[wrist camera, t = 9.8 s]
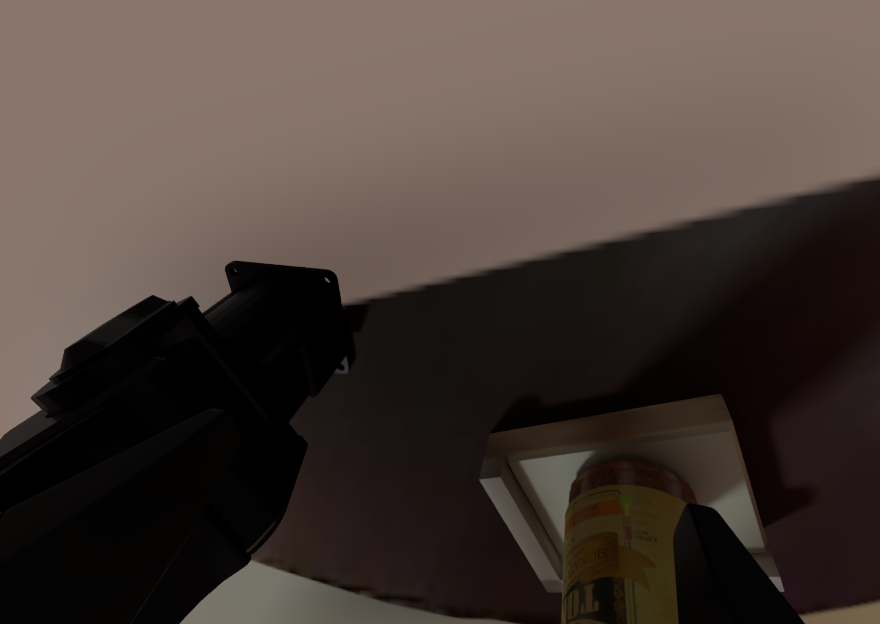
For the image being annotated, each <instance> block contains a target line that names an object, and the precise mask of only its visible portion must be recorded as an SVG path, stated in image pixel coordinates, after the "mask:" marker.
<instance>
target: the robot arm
mask: <svg viewBox="0 0 880 624" xmlns="http://www.w3.org/2000/svg"><path fill="white" fill-rule="evenodd" d="M234 269H235V270H236V271H237V272H236V271H235V270H234ZM225 272H226V275H227V278H228V281H229V285H230V288H231V293H230V294H228V295H227V296H226V297H224V298H223V299H221V300H220V301H219V302H217V303H216V304H215V305H213V306H212V307H210V308H209V309H208V310H206V311H205V312H203V313H201V311H200V310H199V308H198V307H199V305H198V303H197V302H196V301H195V300H194V298H193V297H192V296H190V297H188V298H186V299H184V300H182V301H179V302H178V303H176V302H175V301H172V302H171V301H166V300H163V299H161V298H159V297H156V296H154V295H152V296H150V297H148V298H146V299H144V300H143V301H141V302H139V303H138V304H136V305H134V306H132V307H131V308H129V309H127V310H126V311H124V312H122V313H121V314H119V315H117V316H116V317H114V318H112V319H111V320H109V321H107V322H106V323H105V324H103V325H101V326H100V327H98V328H97V329H95V330H93V331H92V332H90V333H89V334H87V335H86V336H84V337H83V338H81V339H80V340H79V341H77V342H75V343H74V344H72V345H71V346H69V347H68V348H66V349H65V350H64V355H63V359H62V363H61V368H60V370H58V371H57V372H56V373H55V374H54V375H52V376H51V377H50V378H49V380H50V382H49V383H47V384H46V385H45V386H44V387H42V388H41V389H40V390H39V391H37V393H35V394H34V395H33V396H32V397H31V399H32V400H33V401H34V402H35V403H36V404H37V405H38V406H39V407H40V408H41V409H42V410H41V411H39V412H38V413H36V414H35V415H33V416H31V417H30V418H28V419H27V420H25V421H24V422H22V423H21V424H19V425H18V426H16V427H15V428H13V429H11V430H10V431H9V432H7V433H6V434H5V435H4V436H3V437H2V438H1V439H0V624H180V622H181V621H182V620H183V619H184V618H185V617H186V616H187V615H188V614H189V613H190V612H191V611H192V610H193V608H195V607H196V606H197V604H198V603H199V602H200V601H201V600H203V598H205V597H206V596H207V595H208V594H209V593H210V592H212V591H213V590H214V589H215V588H216V587H217V586H218V585H220V584H221V583H222V582H223V581H224V580H226V579H227V578H229V577H230V576H232V575H233V574H235V573H236V572H238V571H239V570H241V569H242V568H243V567H245V566H246V565H247V564H248V563H249V562H250V560H251V555H252V554H253V553H254V552H256V551H257V550H258V549H259V548H260V547H261V546H262V545H263V544H264V543H265V542H266V541H267V540H268V538H269V537H270V536H271V535H272V533H273V532H274V531H275V530H276V528H277V527H278V525H279V523H280V522H281V520H282V518H283V516H284V514H285V512H286V509H287V506H288V503H289V500H290V497H291V494H292V491H293V488H294V485H295V482H296V479H297V476H298V473H299V470H300V467H301V465H302V462H303V459H304V456H305V453H306V450H307V447H308V443H307V442H306V441H305V440H304V438H303V437H302V436H299V435H298V434H297V433H296V431H295V430H294V429H293V428H292V426H291V425H290V424H289V423H288V422H289V421H290V420H291V418H292V417H293V416H294V415H295V413H296V412H297V411H298V409H299V408H300V407H301V405H302V404H303V403H304V401H305V400H306V399H307V397H315V396H316V395H317V394H318V393H319V392H320V391H321V389H322V388H323V387H324V385H325V384H326V383H327V381H328V380H329V379H330V377H331V376H332V374H333V373H340V374H345V373H347V372H348V371H349V369H350V368H351V358H350V352H349V351H350V350H351V345H350V339H349V333H348V327H347V320H346V314H345V312H344V310H343V309H342V303H341V296H340V290H339V285H338V279H337V276H336V275H335V273H334V272H332V271H330V270H326V269H316V268H306V267H295V266H284V265H274V264H264V263H253V262H243V261H232V262H230V263H229V264H228V265H226V267H225ZM324 277H325V278H327V279H328V280H329V281H330V283H329V282H327V281H326V280H325V278H324ZM341 364H342V365H344V366H342V365H341ZM673 552H674V566H675V580H676V594H677V608H678V621H679V624H805V623H804V622H803V621H802V619H801V618H800V617H799V615H798V614H797V613H796V612H795V610H794V609H793V608H792V606H791V605H790V604H789V603H788V601H787V600H786V599H785V597H784V596H783V595H782V594H781V592H780V591H779V590H778V588H777V587H776V586H775V585H774V583H773V582H772V581H771V579H770V578H769V577H768V576H767V574H766V573H765V572H764V570H763V569H762V568H761V567H760V565H759V564H758V563H757V561H756V560H755V559H754V558H753V556H752V555H751V554H750V552H749V551H748V550H747V549H746V547H745V546H744V545H743V543H742V542H741V541H740V540H739V538H738V537H737V536H736V534H735V533H734V532H733V531H732V529H731V528H730V527H729V525H728V524H727V523H726V522H725V520H724V519H723V518H722V516H721V515H720V514H719V513H718V512H717V511H716V510H715V509H714V508H712V507H708V506H703V505H698V504H693V503H688V504H687V505H686V506H685V507H684V509H683V512H682V514H681V516H680V519H679V521H678V523H677V526H676V528H675V531H674V535H673Z"/></svg>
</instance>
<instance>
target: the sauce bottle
mask: <svg viewBox="0 0 880 624" xmlns="http://www.w3.org/2000/svg"><path fill="white" fill-rule="evenodd" d="M688 503H693V504H698V503H697V500H696V498H695V494H694V492H693V490H692V489H691V487H690V485H689V484H688V483H687V482H686V481H685V480H684V479H682V478H681V477H680V476H679V475H678V474H677V473H676V472H674V471H672V470H669V469H667V468H665V467H664V466H661V465H657V464H653V463H650V462H647V461H642V460H637V459H629V458H625V459H619V460H618V459H614V460H610V461H605V462H601V463H599V464H596V465H594V466H591V467H589V468H587V469H586V470H584V471H583V472H582V473H580V474H578V475H577V478H576V479H575V480H574V481H573V483H572V484H571V489H570V492H569V505H568V507H567V510H566V513H565V530H564V557H563V586H562V618H561V624H679V621H678V608H677V594H676V580H675V566H674V552H673V535H674V531H675V528H676V526H677V523H678V521H679V519H680V516H681V514H682V512H683V509H684V507H685V506H686V505H687V504H688Z"/></svg>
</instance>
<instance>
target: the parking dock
mask: <svg viewBox="0 0 880 624" xmlns="http://www.w3.org/2000/svg"><path fill="white" fill-rule="evenodd" d="M625 458H629V459H637V460H642V461H647V462H650V463H653V464H657V465H661V466H664V467H665V468H667V469H669V470H672V471H674V472H676V473H677V474H678V475H679V476H680V477H681V478H682V479H684V480H685V481H686V482H687V483H688V484H689V485H690V487H691V489H692V490H693V492H694V494H695V498H696V500H697V503H698V505H703V506H708V507H712V508H714V509H715V510H716V511H717V512H718V513H719V514H720V515H721V516H722V518H723V519H724V520H725V522H726V523H727V524H728V525H729V527H730V528H731V529H732V531H733V532H734V533H735V534H736V536H737V537H738V538H739V540H740V541H741V542H742V543H743V545H744V546H745V547H746V549H747V550H748V551H749V552H750V554H751V555H752V556H753V558H754V559H755V560H756V561H757V563H758V564H759V565H760V567H761V568H762V569H763V570H764V572H765V573H766V574H767V576H768V577H769V578H770V579H771V581H772V582H773V583H774V585H775V586H776V587H777V588H778V590H779V591H780V592H784V589H783V586H782V582H781V579H780V576H779V573H778V570H777V568H776V565H775V563H774V560H773V557H772V555H771V552H770V549H769V546H768V543H767V540H766V536H765V533H764V529H763V526H762V522H761V519H760V515H759V512H758V508H757V505H756V501H755V498H754V494H753V491H752V487H751V484H750V480H749V477H748V473H747V470H746V467H745V463H744V460H743V456H742V453H741V449H740V446H739V442H738V439H737V435H736V432H735V428H734V425H733V421H732V419H731V416H730V414H729V411H728V409H727V406H726V404H725V402H724V399H723V397H722V394H715V395H709V396H703V397H698V398H692V399H686V400H681V401H675V402H669V403H663V404H658V405H652V406H646V407H640V408H635V409H629V410H623V411H617V412H612V413H606V414H600V415H595V416H589V417H583V418H577V419H572V420H566V421H560V422H554V423H549V424H543V425H537V426H532V427H526V428H520V429H514V430H509V431H503V432H497V433H491V434H489V438H488V443H487V447H486V452H485V456H484V460H483V465H482V469H481V474H480V478H479V480H480V482H481V483H482V485H483V487H484V488H485V490H486V492H487V493H488V495H489V497H490V498H491V500H492V502H493V503H494V505H495V506H496V508H497V510H498V511H499V513H500V515H501V516H502V518H503V520H504V521H505V523H506V525H507V526H508V528H509V529H510V531H511V533H512V534H513V536H514V538H515V539H516V541H517V543H518V544H519V546H520V548H521V549H522V551H523V552H524V554H525V556H526V557H527V559H528V561H529V562H530V564H531V566H532V567H533V569H534V571H535V572H536V574H537V575H538V577H539V579H540V580H541V582H542V584H543V585H544V587H545V589H546V590H547V592H562V586H563V557H564V530H565V513H566V510H567V507H568V505H569V492H570V489H571V484H572V483H573V481H574V480H575V479H576V478H577V475H578V474H580V473H582V472H583V471H584V470H586V469H587V468H589V467H591V466H594V465H596V464H599V463H601V462H605V461H610V460H614V459H618V460H619V459H625Z"/></svg>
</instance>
